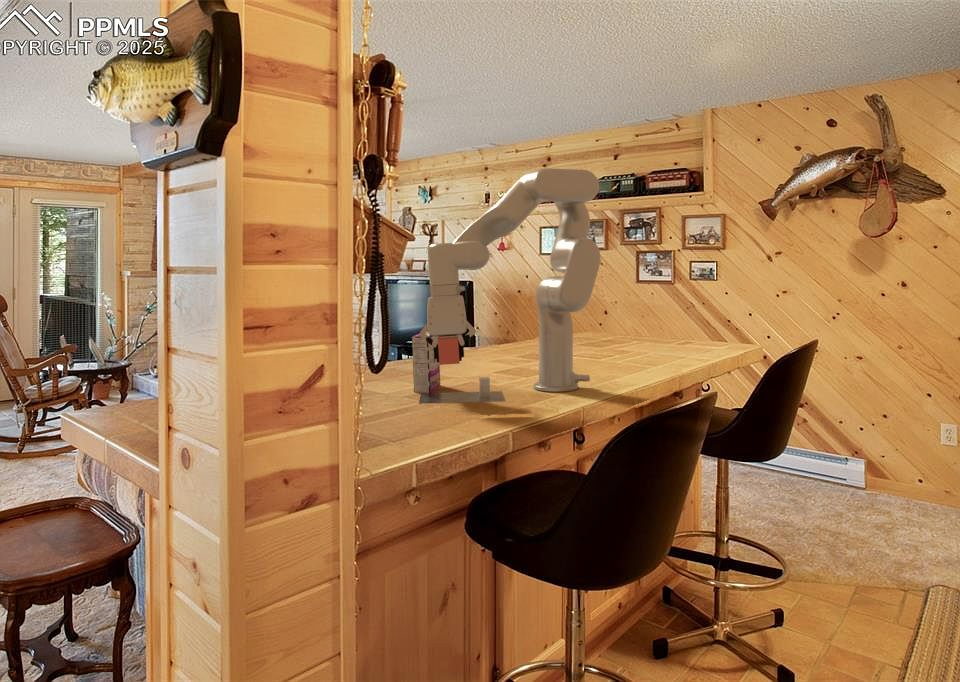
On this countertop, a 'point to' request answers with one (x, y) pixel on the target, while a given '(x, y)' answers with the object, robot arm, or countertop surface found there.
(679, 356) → the countertop surface
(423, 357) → the candy bar box
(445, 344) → the red block
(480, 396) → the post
